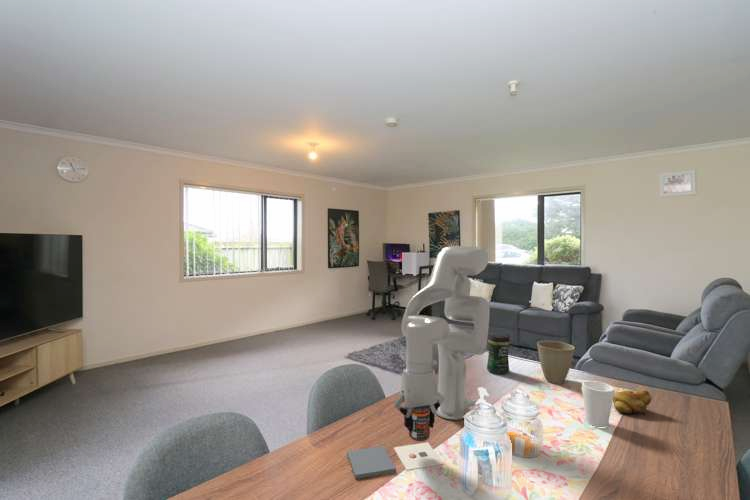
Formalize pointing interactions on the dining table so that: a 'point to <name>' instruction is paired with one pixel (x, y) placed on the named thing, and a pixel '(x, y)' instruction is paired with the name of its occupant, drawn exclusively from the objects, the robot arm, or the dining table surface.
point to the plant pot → (555, 360)
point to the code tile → (417, 456)
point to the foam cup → (597, 402)
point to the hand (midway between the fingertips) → (419, 426)
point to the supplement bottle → (420, 423)
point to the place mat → (370, 462)
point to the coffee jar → (498, 353)
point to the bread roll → (631, 401)
